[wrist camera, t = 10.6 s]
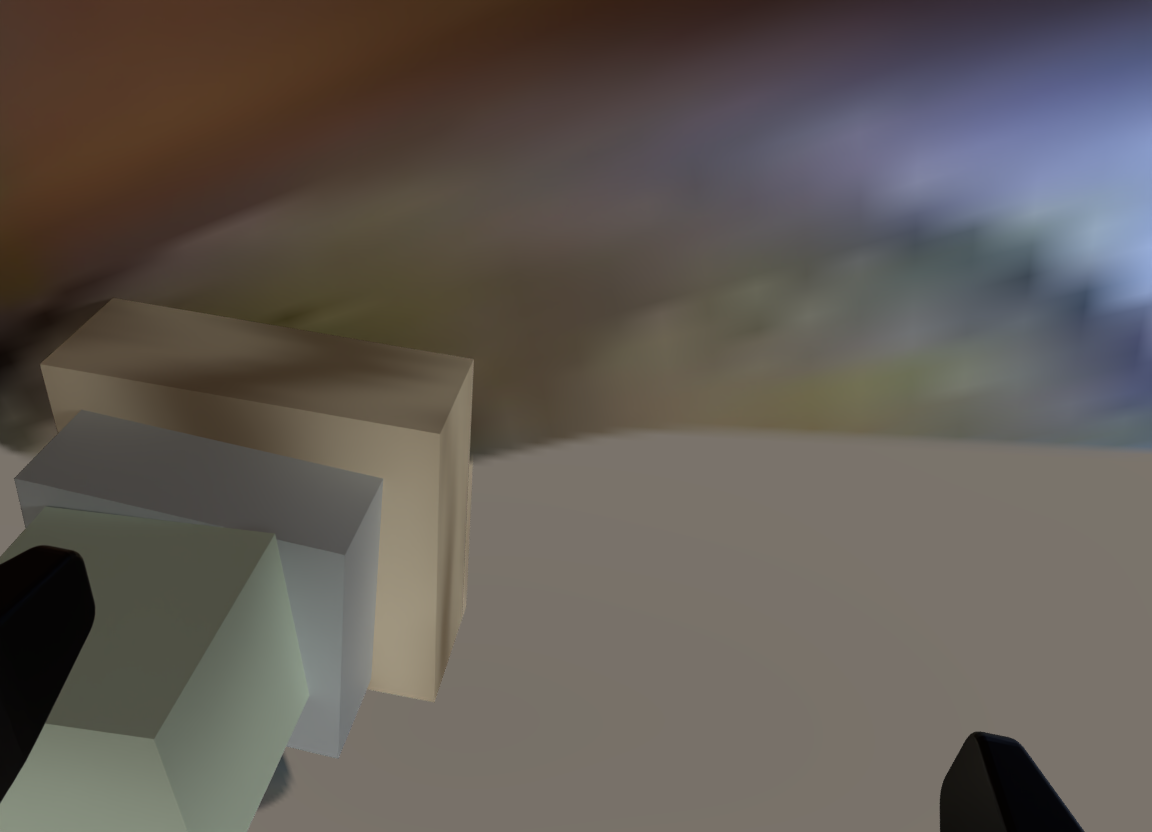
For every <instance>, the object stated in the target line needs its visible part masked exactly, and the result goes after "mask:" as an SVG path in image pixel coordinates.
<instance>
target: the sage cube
mask: <svg viewBox="0 0 1152 832" xmlns="http://www.w3.org/2000/svg"><path fill="white" fill-rule="evenodd" d="M39 545H49V546H54V547H59V548H64V549H69V550H74V551H76V552H78V553H79V554H80V555H81V556H82V557H83V560H84V562H85V566H86V570H87V574H88V578H89V582H90V586H91V590H92V594H93V597H94V601H95V619H94V623H93V626H92V628H91V631H90V633H89V635H88V637H87V639H86V641H85V643H84V645H83V647H82V649H81V651H80V653H79V655H78V657H77V660H76V662H75V664H74V666H73V668H72V670H71V672H70V674H69V676H68V678H67V680H66V682H65V684H64V686H63V688H62V690H61V692H60V694H59V696H58V698H57V700H56V702H55V704H54V706H53V709H52V711H51V713H50V715H49V717H48V719H47V721H46V723H45V725H44V727H43V729H42V731H41V733H40V735H39V737H38V739H37V741H36V743H35V745H34V747H33V749H32V751H31V753H30V754H29V756H28V758H27V760H26V762H25V764H24V765H23V767H22V769H21V770H20V772H19V774H18V775H17V777H16V779H15V780H14V782H13V784H12V785H11V787H10V789H9V790H8V792H7V793H6V795H5V797H4V798H3V800H2V801H1V803H0V832H247V831H248V828H249V826H250V824H251V822H252V819H253V817H254V815H255V813H256V811H257V809H258V807H259V804H260V802H261V800H262V798H263V796H264V793H265V791H266V789H267V787H268V785H269V783H270V780H271V778H272V776H273V774H274V772H275V769H276V767H277V765H278V763H279V761H280V758H281V756H282V754H283V752H284V750H285V747H286V745H287V743H288V741H289V739H290V737H291V734H292V732H293V730H294V728H295V726H296V724H297V721H298V719H299V717H300V715H301V713H302V710H303V708H304V706H305V704H306V702H307V700H308V697H309V691H308V686H307V681H306V677H305V672H304V667H303V663H302V658H301V653H300V649H299V644H298V639H297V634H296V630H295V625H294V620H293V616H292V611H291V606H290V601H289V597H288V592H287V587H286V583H285V578H284V573H283V569H282V564H281V559H280V554H279V550H278V545H277V540H276V535H275V533H266V532H258V531H249V530H241V529H232V528H224V527H216V526H207V525H199V524H190V523H182V522H173V521H165V520H156V519H148V518H139V517H131V516H122V515H114V514H105V513H97V512H88V511H80V510H71V509H63V508H54V507H46V506H45V508H44V509H43V510H42V511H41V512H40V513H39V514H38V515H37V517H36V518H35V519H34V520H33V521H32V522H31V523H30V524H29V525H28V527H27V528H26V529H25V530H24V531H23V532H22V533H21V534H20V536H19V537H18V538H17V539H16V540H15V541H14V542H13V543H12V544H11V546H10V547H9V548H8V549H7V550H6V551H5V552H4V553H3V554H2V556H1V557H0V564H2V563H4V562H5V561H7V560H9V559H11V558H13V557H15V556H17V555H19V554H20V553H22V552H24V551H26V550H28V549H30V548H32V547H35V546H39Z"/></svg>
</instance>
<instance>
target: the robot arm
mask: <svg viewBox="0 0 1152 832" xmlns="http://www.w3.org/2000/svg"><path fill="white" fill-rule="evenodd" d="M94 619H95V601H94V597H93V594H92V590H91V586H90V582H89V578H88V574H87V570H86V566H85V562H84V560H83V557H82V556H81V555H80V554H79V553H78V552H76V551H74V550H69V549H64V548H59V547H54V546H49V545H39V546H35V547H32V548H30V549H28V550H26V551H24V552H22V553H20V554H19V555H17V556H15V557H13V558H11V559H9V560H7V561H5V562H4V563H2V564H0V803H1V801H2V800H3V798H4V797H5V795H6V793H7V792H8V790H9V789H10V787H11V785H12V784H13V782H14V780H15V779H16V777H17V775H18V774H19V772H20V770H21V769H22V767H23V765H24V764H25V762H26V760H27V758H28V756H29V754H30V753H31V751H32V749H33V747H34V745H35V743H36V741H37V739H38V737H39V735H40V733H41V731H42V729H43V727H44V725H45V723H46V721H47V719H48V717H49V715H50V713H51V711H52V709H53V706H54V704H55V702H56V700H57V698H58V696H59V694H60V692H61V690H62V688H63V686H64V684H65V682H66V680H67V678H68V676H69V674H70V672H71V670H72V668H73V666H74V664H75V662H76V660H77V657H78V655H79V653H80V651H81V649H82V647H83V645H84V643H85V641H86V639H87V637H88V635H89V633H90V631H91V628H92V626H93V623H94ZM940 832H1084V830H1083V829H1082V827H1081V826H1080V825H1079V823H1078V822H1077V821H1076V819H1075V818H1074V816H1073V815H1072V814H1071V812H1070V811H1069V809H1068V808H1067V807H1066V805H1065V804H1064V803H1063V801H1062V800H1061V798H1060V797H1059V796H1058V794H1057V793H1056V792H1055V790H1054V789H1053V787H1052V786H1051V785H1050V783H1049V782H1048V780H1047V779H1046V778H1045V776H1044V775H1043V774H1042V772H1041V771H1040V770H1039V768H1038V767H1037V765H1036V764H1035V762H1034V761H1033V760H1032V758H1031V757H1030V756H1029V754H1028V753H1027V752H1026V750H1025V749H1024V747H1023V746H1022V745H1021V744H1019V742H1017V741H1016V740H1014V739H1012V738H1009V737H1005V736H1000V735H995V734H990V733H985V732H974V733H972V734H970V735H969V736H968V738H967V739H966V740H965V742H964V744H963V746H962V748H961V749H960V751H959V753H958V755H957V757H956V758H955V760H954V762H953V764H952V766H951V767H950V769H949V771H948V773H947V775H946V776H945V779H944V781H943V784H942V788H941V795H940Z"/></svg>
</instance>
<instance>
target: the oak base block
mask: <svg viewBox="0 0 1152 832" xmlns="http://www.w3.org/2000/svg"><path fill="white" fill-rule="evenodd" d="M473 365H474V359H469V358H463V357H458V356H452V355H446V354H440V353H434V352H428V351H422V350H416V349H411V348H405V347H399V346H393V345H387V344H381V343H375V342H369V341H364V340H358V339H352V338H346V337H340V336H334V335H328V334H322V333H317V332H311V331H305V330H299V329H293V328H287V327H281V326H275V325H270V324H264V323H258V322H252V321H246V320H240V319H234V318H228V317H222V316H217V315H211V314H205V313H199V312H193V311H187V310H181V309H175V308H170V307H164V306H158V305H152V304H146V303H140V302H134V301H128V300H123V299H117V298H112V299H111V300H110V301H109V302H108V303H107V304H106V305H105V306H103V307H102V308H101V309H100V310H99V311H98V312H97V313H96V314H95V315H94V316H92V317H91V318H90V319H89V320H88V321H87V322H86V323H85V324H84V325H82V326H81V327H80V328H79V329H78V330H77V331H76V332H75V333H74V334H73V335H71V336H70V337H69V338H68V339H67V340H66V341H65V342H64V343H63V344H61V345H60V346H59V347H58V348H57V349H56V350H55V351H54V352H53V353H52V354H50V355H49V356H48V357H47V358H46V359H45V360H44V361H43V362H42V363H40V367H41V371H42V374H43V378H44V382H45V386H46V390H47V394H48V397H49V401H50V405H51V409H52V413H53V416H54V420H55V424H56V428H57V432H58V433H59V432H60V431H61V430H62V429H63V428H64V427H65V426H66V425H67V424H68V423H69V422H70V421H71V420H72V419H73V418H74V417H75V416H76V415H77V414H78V413H79V412H80V411H81V410H85V411H90V412H94V413H98V414H103V415H107V416H111V417H116V418H120V419H125V420H129V421H133V422H138V423H142V424H146V425H151V426H155V427H160V428H164V429H168V430H173V431H177V432H181V433H186V434H190V435H195V436H199V437H203V438H208V439H212V440H216V441H221V442H225V443H229V444H234V445H238V446H243V447H247V448H251V449H256V450H260V451H264V452H269V453H273V454H278V455H282V456H286V457H291V458H295V459H299V460H304V461H308V462H313V463H317V464H321V465H326V466H330V467H334V468H339V469H343V470H348V471H352V472H356V473H361V474H365V475H369V476H374V477H378V478H383V491H382V507H381V524H380V541H379V558H378V574H377V591H376V607H375V624H374V640H373V657H372V673H371V680H370V683H369V685H368V688H367V689H368V690H373V691H378V692H384V693H389V694H394V695H400V696H404V697H410V698H414V699H420V700H425V701H430V702H435V699H436V696H437V693H438V690H439V687H440V684H441V681H442V678H443V675H444V672H445V669H446V666H447V663H448V660H449V657H450V654H451V651H452V648H453V645H454V642H455V639H456V636H457V633H458V630H459V627H460V624H461V621H462V618H463V615H464V612H465V609H466V603H467V581H468V560H469V558H468V557H469V539H470V516H471V496H472V475H473V462H469V455H470V433H471V410H472V388H473Z"/></svg>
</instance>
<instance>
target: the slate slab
mask: <svg viewBox="0 0 1152 832" xmlns="http://www.w3.org/2000/svg"><path fill="white" fill-rule="evenodd" d="M14 479H15V484H16V488H17V493H18V497H19V501H20V505H21V510H22V514H23V518H24V523H25V527H26V528H27V527H28V525H29V524H30V523H31V522H32V521H33V520H34V519H35V518H36V517H37V515H38V514H39V513H40V512H41V511H42V510H43V509H44V508H45V506H46V507H54V508H63V509H71V510H80V511H88V512H97V513H105V514H114V515H122V516H131V517H139V518H148V519H156V520H165V521H173V522H182V523H190V524H199V525H207V526H216V527H224V528H232V529H241V530H249V531H258V532H266V533H275V535H276V540H277V545H278V550H279V554H280V559H281V564H282V569H283V573H284V578H285V583H286V587H287V592H288V597H289V601H290V606H291V611H292V616H293V620H294V625H295V630H296V634H297V639H298V644H299V649H300V653H301V658H302V663H303V667H304V672H305V677H306V681H307V686H308V691H309V697H308V700H307V702H306V704H305V706H304V708H303V710H302V713H301V715H300V717H299V719H298V721H297V724H296V726H295V728H294V730H293V732H292V734H291V737H290V739H289V741H288V743H287V745H286V746H287V747H292V748H295V749H300V750H304V751H308V752H312V753H316V754H320V755H325V756H329V757H333V758H339V756H340V753H341V751H342V748H343V746H344V744H345V741H346V739H347V736H348V734H349V731H350V729H351V727H352V724H353V721H354V719H355V716H356V714H357V712H358V709H359V707H360V705H361V702H362V699H363V697H364V695H365V692H366V690H367V688H368V685H369V683H370V680H371V673H372V657H373V640H374V624H375V607H376V591H377V574H378V558H379V541H380V524H381V507H382V491H383V478H378V477H374V476H369V475H365V474H361V473H356V472H352V471H348V470H343V469H339V468H334V467H330V466H326V465H321V464H317V463H313V462H308V461H304V460H299V459H295V458H291V457H286V456H282V455H278V454H273V453H269V452H264V451H260V450H256V449H251V448H247V447H243V446H238V445H234V444H229V443H225V442H221V441H216V440H212V439H208V438H203V437H199V436H195V435H190V434H186V433H181V432H177V431H173V430H168V429H164V428H160V427H155V426H151V425H146V424H142V423H138V422H133V421H129V420H125V419H120V418H116V417H111V416H107V415H103V414H98V413H94V412H90V411H85V410H81V411H80V412H79V413H78V414H77V415H76V416H75V417H74V418H73V419H72V420H71V421H70V422H69V423H68V424H67V425H66V426H65V427H64V428H63V429H62V430H61V431H60V432H59V433H58V434H57V435H56V436H55V437H54V438H53V439H52V440H51V441H50V442H49V443H48V444H47V445H46V446H45V447H44V448H43V449H42V450H41V451H40V452H39V454H38V455H37V456H36V457H35V458H34V459H33V460H32V461H31V462H30V463H29V464H28V465H27V466H26V467H25V468H24V469H23V470H22V471H21V472H20V473H19V474H18V475H17V476H16V477H15V478H14Z"/></svg>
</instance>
